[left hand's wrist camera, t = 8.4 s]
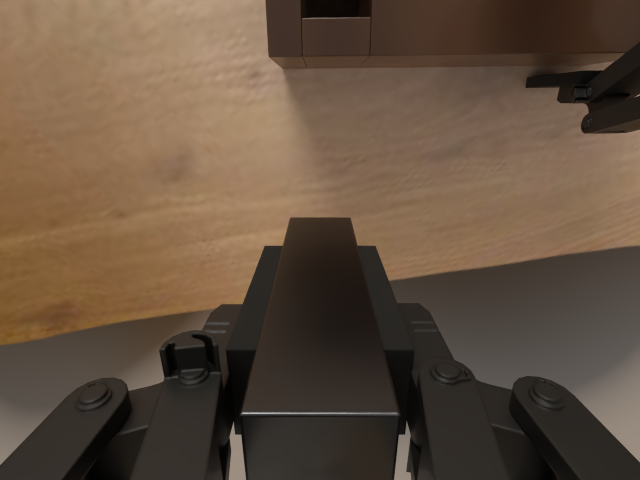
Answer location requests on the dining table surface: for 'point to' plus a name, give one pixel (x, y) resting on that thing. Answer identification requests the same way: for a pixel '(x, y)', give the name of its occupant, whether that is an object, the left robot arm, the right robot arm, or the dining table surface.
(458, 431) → the left robot arm
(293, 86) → the dining table surface
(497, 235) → the dining table surface
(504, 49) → the peg block
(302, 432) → the peg
